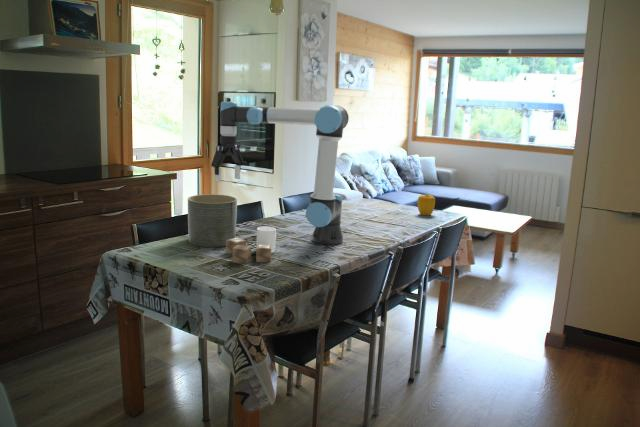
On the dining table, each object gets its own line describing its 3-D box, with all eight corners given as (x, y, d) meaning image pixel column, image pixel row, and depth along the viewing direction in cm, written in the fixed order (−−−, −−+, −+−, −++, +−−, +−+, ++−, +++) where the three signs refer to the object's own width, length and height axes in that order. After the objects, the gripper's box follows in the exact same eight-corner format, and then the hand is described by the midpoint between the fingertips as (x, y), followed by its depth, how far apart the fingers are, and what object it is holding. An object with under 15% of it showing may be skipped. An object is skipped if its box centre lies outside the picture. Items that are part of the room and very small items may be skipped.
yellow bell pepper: (421, 212, 347) (422, 192, 344) (436, 215, 341) (438, 194, 338) (413, 214, 338) (415, 194, 336) (429, 217, 332) (431, 196, 329)
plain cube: (251, 259, 229) (251, 246, 228) (246, 264, 223) (246, 249, 222) (237, 258, 230) (237, 244, 229) (232, 262, 224) (232, 248, 223)
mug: (268, 245, 251) (268, 224, 249) (283, 249, 248) (284, 226, 245) (252, 251, 241) (253, 228, 239) (268, 254, 237) (268, 231, 235)
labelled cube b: (271, 258, 233) (271, 244, 232) (270, 262, 227) (271, 248, 226) (256, 257, 233) (257, 244, 231) (256, 262, 227) (256, 248, 225)
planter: (177, 243, 248) (177, 199, 244) (204, 233, 268) (205, 192, 264) (220, 250, 241) (221, 205, 236) (244, 239, 261) (245, 197, 257)
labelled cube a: (245, 253, 239) (246, 239, 237) (235, 255, 234) (236, 242, 233) (236, 250, 242) (236, 237, 241) (226, 253, 237) (226, 239, 236)
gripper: (239, 133, 268) (238, 176, 272) (203, 135, 247) (203, 182, 252) (251, 135, 264) (250, 178, 269) (215, 136, 243) (215, 184, 248)
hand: (227, 180), depth 260 cm, fingers open, 13 cm apart
